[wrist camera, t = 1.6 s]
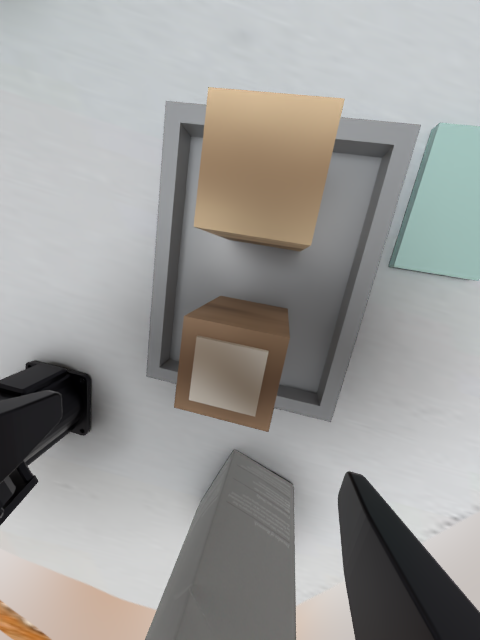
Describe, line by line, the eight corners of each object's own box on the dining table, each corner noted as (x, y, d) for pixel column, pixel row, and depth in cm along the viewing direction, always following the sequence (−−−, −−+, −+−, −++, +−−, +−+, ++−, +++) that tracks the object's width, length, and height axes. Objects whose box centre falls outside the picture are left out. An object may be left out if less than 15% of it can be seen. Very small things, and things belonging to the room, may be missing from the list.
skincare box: (253, 537, 24) (202, 996, 9) (190, 499, 25) (39, 885, 9) (299, 480, 22) (332, 978, 7) (229, 439, 22) (108, 829, 7)
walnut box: (273, 371, 19) (268, 434, 12) (211, 357, 20) (172, 409, 13) (287, 308, 18) (290, 339, 11) (220, 295, 18) (182, 316, 11)
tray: (325, 402, 20) (330, 421, 17) (161, 363, 21) (146, 376, 19) (399, 146, 15) (421, 124, 13) (182, 123, 17) (165, 100, 14)
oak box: (300, 251, 17) (311, 245, 10) (228, 239, 17) (193, 226, 11) (318, 169, 15) (344, 98, 9) (240, 159, 16) (208, 87, 9)
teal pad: (469, 279, 16) (478, 280, 15) (388, 266, 17) (393, 266, 16) (526, 139, 14) (540, 132, 13) (431, 130, 15) (439, 122, 14)
